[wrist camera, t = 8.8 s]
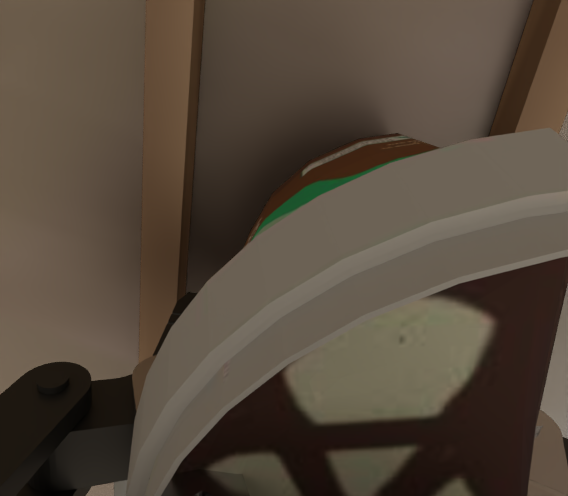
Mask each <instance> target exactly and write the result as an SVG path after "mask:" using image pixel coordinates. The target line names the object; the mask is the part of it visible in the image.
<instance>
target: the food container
mask: <svg viewBox="0 0 568 496" xmlns="http://www.w3.org/2000/svg"><path fill="white" fill-rule="evenodd" d="M567 284H568V141H567V140H565V139H564V138H563V137H561V136H560V135H559V134H558V133H556V132H555V131H554V130H552V129H551V128H545V129H538V130H531V131H524V132H517V133H511V134H504V135H497V136H490V137H483V138H477V139H470V140H467V141H463V142H460V143H457V144H453V145H450V146H446V147H443V148H439V147H436V146H433V145H430V144H427V143H424V142H422V141H419V140H416V139H413V138H410V137H407V136H404V135H401V134H398V133H396V134H389V135H382V136H376V137H369V138H362V139H357V140H355V141H353V142H350V143H348V144H346V145H344V146H341V147H339V148H337V149H334V150H332V151H330V152H328V153H325V154H323V155H321V156H319V157H316V158H314V159H312V160H310V161H309V162H307V163H306V164H305V165H304V166H303V167H302V168H301V169H299V170H298V171H297V172H296V173H295V174H294V175H293V176H291V177H290V178H289V179H288V180H287V181H286V182H285V183H283V184H282V185H281V186H280V187H279V188H278V189H277V190H275V191H274V192H273V193H272V195H271V197H270V198H269V200H268V202H267V204H266V205H265V207H264V209H263V210H262V212H261V214H260V216H259V217H258V219H257V221H256V222H255V224H254V226H253V228H252V229H251V231H250V233H249V236H248V238H247V241H246V243H245V246H244V248H243V249H242V250H241V251H240V252H239V253H238V254H237V255H236V256H234V257H233V258H232V259H231V260H230V261H229V262H228V263H227V264H226V265H225V266H223V267H222V268H221V269H220V270H219V271H218V272H217V273H216V274H215V275H214V276H212V277H211V278H210V279H209V280H208V281H207V282H206V283H205V285H204V286H203V287H202V289H201V290H200V291H199V292H198V294H197V295H196V296H195V298H194V299H193V300H192V301H191V303H190V304H189V305H188V307H187V308H186V309H185V310H184V312H183V313H182V314H181V316H180V317H179V318H178V319H177V321H176V322H175V323H174V325H173V326H172V327H171V329H170V331H169V333H168V335H167V336H166V338H165V340H164V342H163V344H162V346H161V348H160V350H159V352H158V354H157V356H156V358H155V360H154V362H153V364H152V366H151V368H150V370H149V372H148V374H147V376H146V380H145V383H144V387H143V391H142V394H141V398H140V402H139V405H138V409H137V413H136V416H135V420H134V429H133V437H132V445H131V454H130V462H129V471H128V479H127V488H126V496H161V495H162V493H163V491H164V490H165V488H166V486H167V485H168V483H169V482H170V480H171V478H172V477H173V475H174V474H175V473H181V472H186V471H192V470H198V469H204V470H210V471H219V472H225V473H233V474H243V477H244V480H245V483H246V486H247V489H248V492H249V494H250V496H527V494H528V484H529V477H530V469H531V461H532V453H533V446H534V438H535V430H536V424H537V419H538V415H539V410H540V406H541V401H542V396H543V392H544V387H545V383H546V378H547V373H548V369H549V364H550V360H551V355H552V350H553V346H554V341H555V337H556V332H557V327H558V323H559V318H560V314H561V310H562V305H563V301H564V297H565V293H566V288H567ZM149 478H150V479H149Z"/></svg>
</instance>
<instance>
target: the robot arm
mask: <svg viewBox="0 0 568 496" xmlns="http://www.w3.org/2000/svg"><path fill="white" fill-rule="evenodd" d="M197 294H198V293H191V292H189V293H188V294H186V295H185V296H183V297H182V298H181V299H179V300H178V301H177V303H176V305H175V307H174V309H173V312H172V314H171V316H170V318H169V320H168V324H167V325H166V327H165V329H164V332H163V334H162V336H161V338H160V340H159V343H158V345H157V347H156V349H155V351H154V354H153V356H151V357H149V358H147V359H145V360H143V361H142V362H140V363H139V364H138V365H137V366H136V367H135V369H134V371H133V374H131V375H129V376H126V377H122V378H116V379H107V380H98V381H91V376H90V373H89V372H88V370H86V369H85V368H84V367H82V366H80V365H78V364H75V363H70V362H54V363H48V364H44V365H41V366H38V367H36V368H34V369H32V370H30V371H28V372H27V373H25V374H24V375H23V376H22V377H20V378H19V379H18V380H17V381H16V382H15V383H13V384H12V385H11V386H10V387H9V388H8V389H6V390H5V391H4V392H3V393H2V394H1V395H0V496H85V495H86V494H87V493H88V491H89V490H90V488H91V486H95V485H101V484H107V483H112V482H118V481H124V480H127V479H128V471H129V462H130V454H131V445H132V437H133V429H134V420H135V416H136V413H137V409H138V405H139V402H140V398H141V394H142V391H143V387H144V383H145V380H146V376H147V374H148V372H149V370H150V368H151V366H152V364H153V362H154V360H155V358H156V356H157V354H158V352H159V350H160V348H161V346H162V344H163V342H164V340H165V338H166V336H167V335H168V333H169V331H170V329H171V327H172V326H173V325H174V323H175V322H176V321H177V319H178V318H179V317H180V316H181V314H182V313H183V312H184V310H185V309H186V308H187V307H188V305H189V304H190V303H191V301H192V300H193V299H194V298H195V296H196V295H197ZM149 479H150V478H149ZM161 496H250V494H249V492H248V489H247V486H246V483H245V480H244V477H243V474H233V473H225V472H219V471H210V470H204V469H198V470H192V471H186V472H181V473H175V474H174V475H173V477H172V478H171V480H170V482H169V483H168V485H167V486H166V488H165V490H164V491H163V493H162V495H161ZM527 496H568V439H567V438H564V437H562V433H561V430H560V428H559V427H558V425H557V424H556V423H555V422H554V420H553V419H552V418H551V417H549V416H548V415H547V414H546V413H544V412H543V411H542V410H539V415H538V419H537V424H536V430H535V438H534V446H533V453H532V461H531V469H530V477H529V484H528V494H527Z"/></svg>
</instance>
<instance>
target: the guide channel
mask: <svg viewBox="0 0 568 496" xmlns="http://www.w3.org/2000/svg"><path fill="white" fill-rule="evenodd" d="M204 10H205V0H146V23H145V73H144V124H143V174H142V224H141V274H140V325H139V363H140V362H142V361H143V360H145V359H147V358H149V357H151V356H153V354H154V351H155V349H156V347H157V345H158V343H159V340H160V338H161V336H162V334H163V332H164V329H165V327H166V325H167V324H168V320H169V318H170V316H171V314H172V312H173V309H174V307H175V305H176V303H177V301H178V300H179V299H181V298H182V297H183V296H185V292H186V277H187V262H188V248H189V233H190V218H191V203H192V188H193V173H194V158H195V143H196V129H197V114H198V99H199V84H200V69H201V54H202V39H203V25H204ZM567 111H568V0H534V1H533V4H532V7H531V10H530V13H529V16H528V19H527V22H526V25H525V28H524V31H523V35H522V38H521V41H520V44H519V47H518V50H517V53H516V56H515V59H514V62H513V65H512V68H511V71H510V74H509V77H508V80H507V83H506V86H505V89H504V92H503V95H502V98H501V101H500V104H499V107H498V110H497V113H496V116H495V119H494V122H493V125H492V128H491V131H490V134H489V137H490V136H497V135H504V134H511V133H517V132H524V131H531V130H538V129H545V128H551V129H552V130H554V131H555V132H556V133H558V134H559V132H560V129H561V127H562V124H563V122H564V119H565V117H566V114H567ZM126 488H127V480H124V481H118V482H114V496H126Z"/></svg>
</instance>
